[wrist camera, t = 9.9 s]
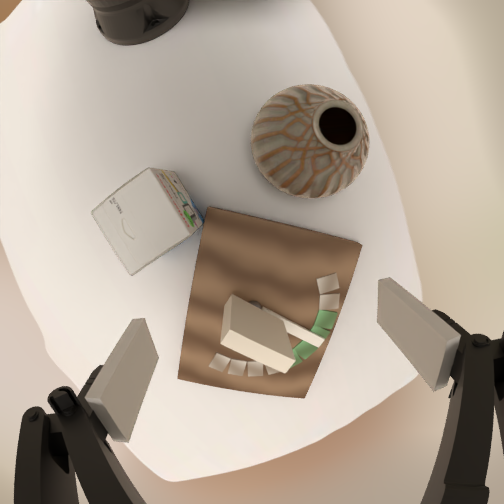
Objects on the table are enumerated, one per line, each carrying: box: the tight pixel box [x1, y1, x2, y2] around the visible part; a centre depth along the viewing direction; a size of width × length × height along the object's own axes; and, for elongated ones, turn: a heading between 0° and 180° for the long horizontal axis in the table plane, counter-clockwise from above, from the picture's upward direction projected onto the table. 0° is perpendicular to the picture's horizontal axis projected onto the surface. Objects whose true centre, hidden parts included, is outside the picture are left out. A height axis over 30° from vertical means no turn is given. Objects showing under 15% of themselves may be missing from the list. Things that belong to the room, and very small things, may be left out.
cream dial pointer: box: [220, 294, 325, 373], centre depth 35 cm, size 16×2×12 cm, turn 59°
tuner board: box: [178, 206, 362, 398], centre depth 42 cm, size 28×22×2 cm
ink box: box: [91, 168, 204, 276], centre depth 33 cm, size 9×8×12 cm
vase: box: [251, 84, 369, 198], centre depth 29 cm, size 13×13×18 cm
